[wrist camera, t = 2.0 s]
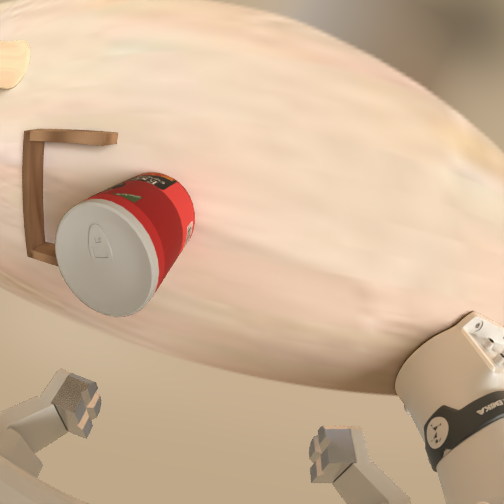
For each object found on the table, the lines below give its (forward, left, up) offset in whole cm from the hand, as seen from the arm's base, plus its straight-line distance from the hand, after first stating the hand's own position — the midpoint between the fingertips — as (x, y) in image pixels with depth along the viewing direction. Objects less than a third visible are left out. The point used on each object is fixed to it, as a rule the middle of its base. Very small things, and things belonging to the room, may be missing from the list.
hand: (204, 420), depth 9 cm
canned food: (+8, 0, -20) cm, 21 cm away
